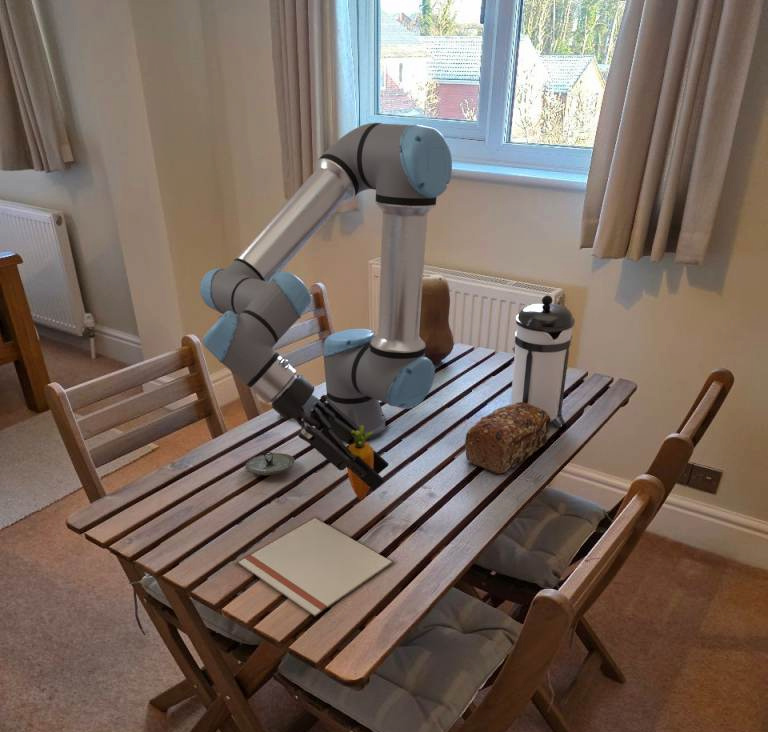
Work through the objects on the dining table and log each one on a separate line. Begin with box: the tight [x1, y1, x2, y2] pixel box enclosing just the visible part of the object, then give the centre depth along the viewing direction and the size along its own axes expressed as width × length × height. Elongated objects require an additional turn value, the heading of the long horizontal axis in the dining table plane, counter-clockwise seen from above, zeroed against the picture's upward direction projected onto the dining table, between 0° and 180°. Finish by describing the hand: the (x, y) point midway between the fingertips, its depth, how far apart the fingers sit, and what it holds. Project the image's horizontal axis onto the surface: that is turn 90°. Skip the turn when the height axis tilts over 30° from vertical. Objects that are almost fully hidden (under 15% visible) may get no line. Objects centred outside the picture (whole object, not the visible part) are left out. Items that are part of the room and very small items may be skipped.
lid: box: [245, 450, 296, 476], centre depth 147 cm, size 11×10×5 cm
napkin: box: [238, 517, 393, 617], centre depth 121 cm, size 20×18×1 cm
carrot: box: [346, 425, 375, 501], centre depth 124 cm, size 5×5×15 cm
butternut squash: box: [419, 274, 454, 366], centre depth 191 cm, size 14×13×25 cm
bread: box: [464, 402, 552, 474], centre depth 150 cm, size 19×11×10 cm, turn 137°
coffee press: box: [509, 295, 576, 428], centre depth 160 cm, size 17×16×30 cm
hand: (380, 476), depth 125 cm, fingers closed on carrot, 5 cm apart
